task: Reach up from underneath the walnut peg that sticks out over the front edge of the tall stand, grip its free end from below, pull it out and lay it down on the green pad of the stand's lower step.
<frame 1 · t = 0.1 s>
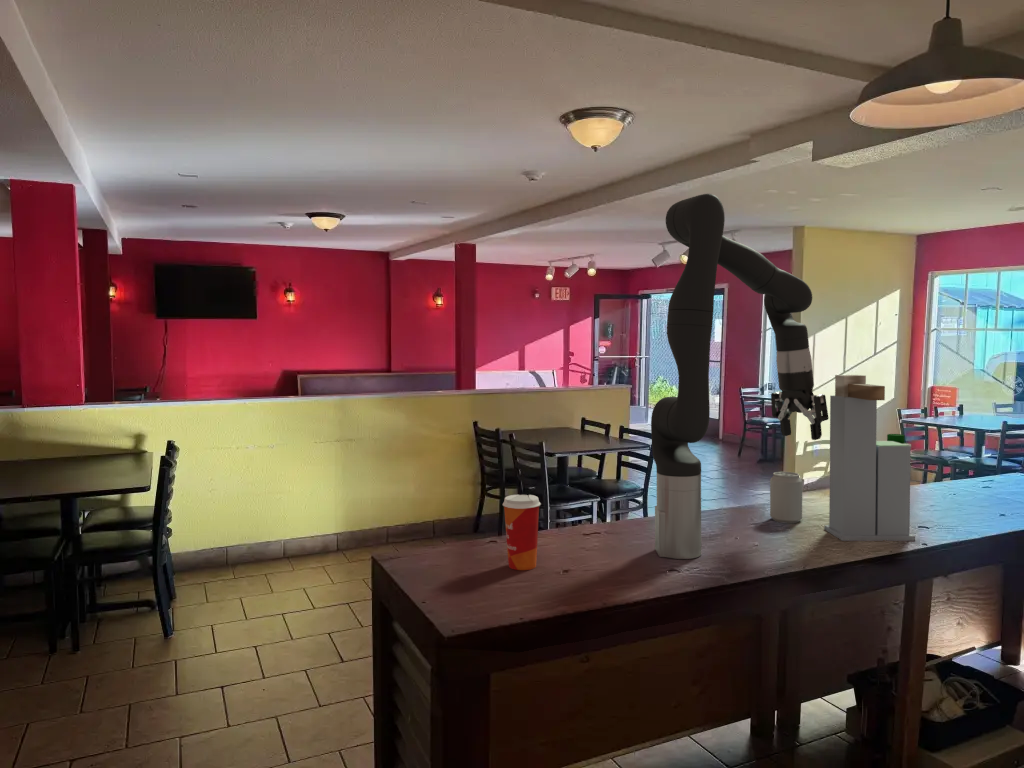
hand: (801, 437, 165), 22 cm above the table, tool pointing down, fingers open, 8 cm apart
stand: (868, 534, 163), on the table
peg: (852, 396, 162), point 32 cm above the table, touching stand
milk carton: (887, 510, 187), on the table
can: (785, 521, 178), on the table
paper cup: (522, 567, 143), on the table
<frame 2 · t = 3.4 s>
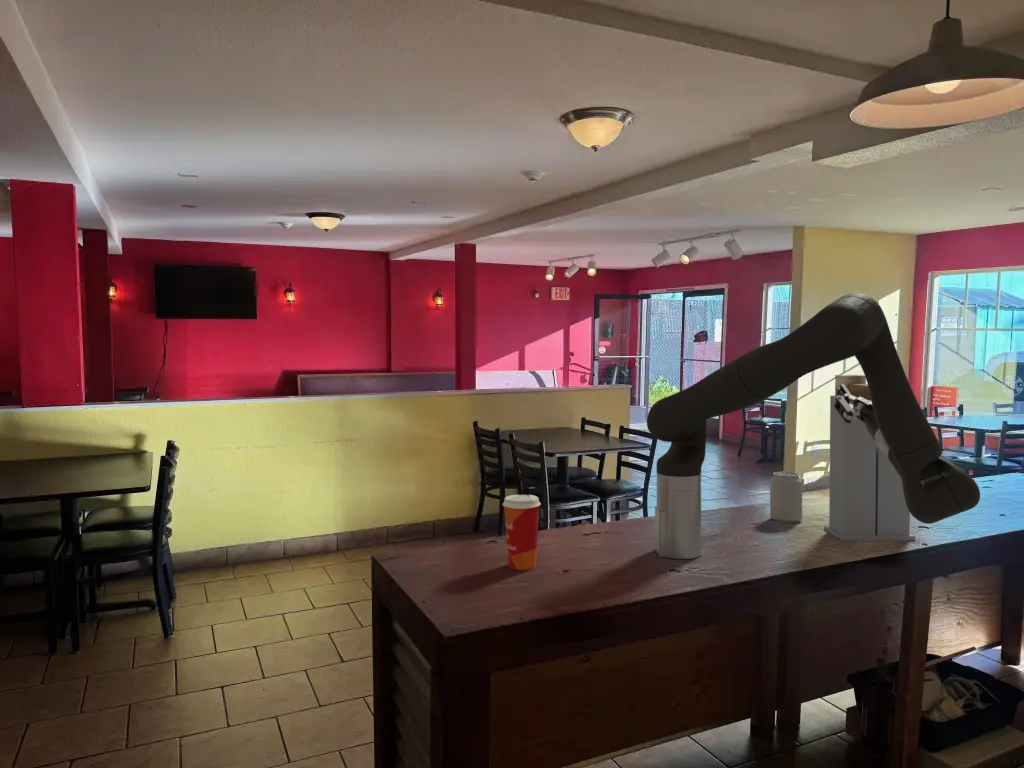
hand: (862, 387, 143), 35 cm above the table, tool pointing upward, fingers open, 8 cm apart
nothing on the table moved.
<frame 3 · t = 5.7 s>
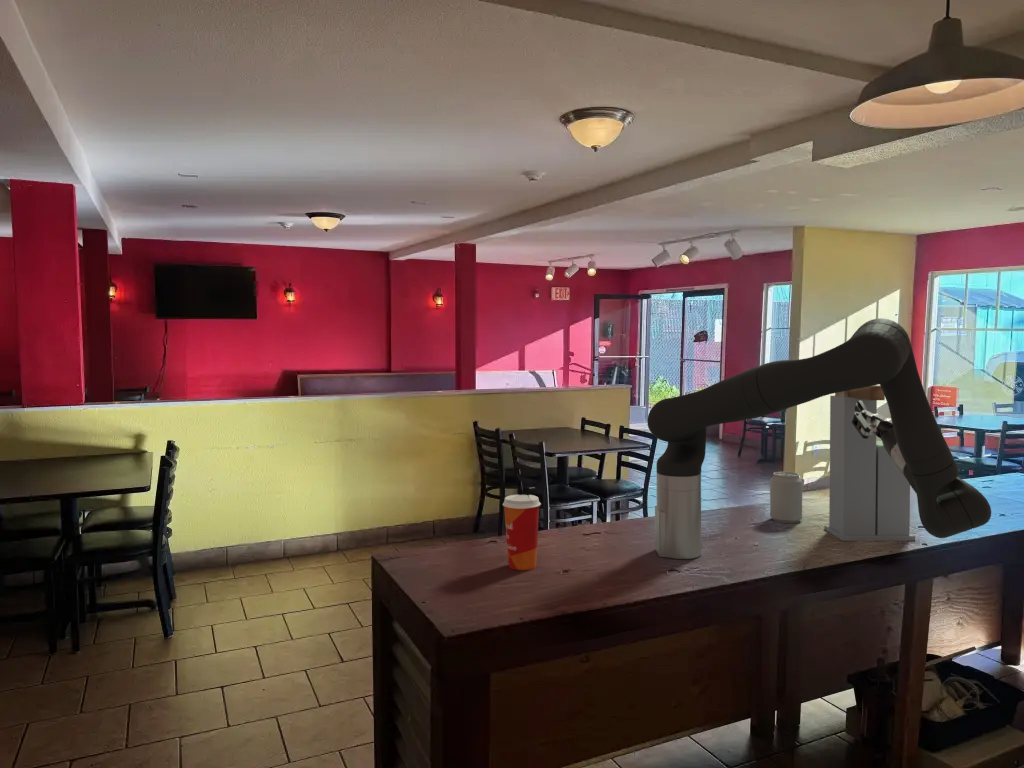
hand: (879, 404, 149), 31 cm above the table, tool pointing upward, fingers open, 8 cm apart
nothing on the table moved.
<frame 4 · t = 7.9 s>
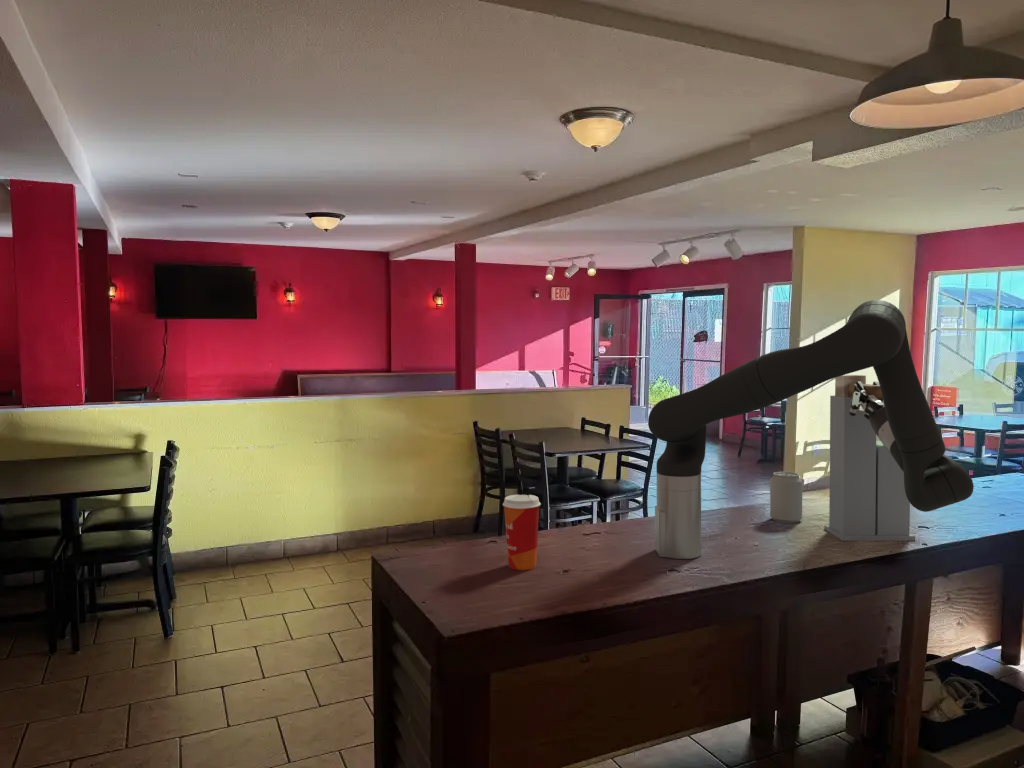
hand: (865, 385, 155), 35 cm above the table, tool pointing upward, fingers closed on peg, 3 cm apart
peg: (852, 396, 162), point 32 cm above the table, touching gripper, stand
everything else where it was.
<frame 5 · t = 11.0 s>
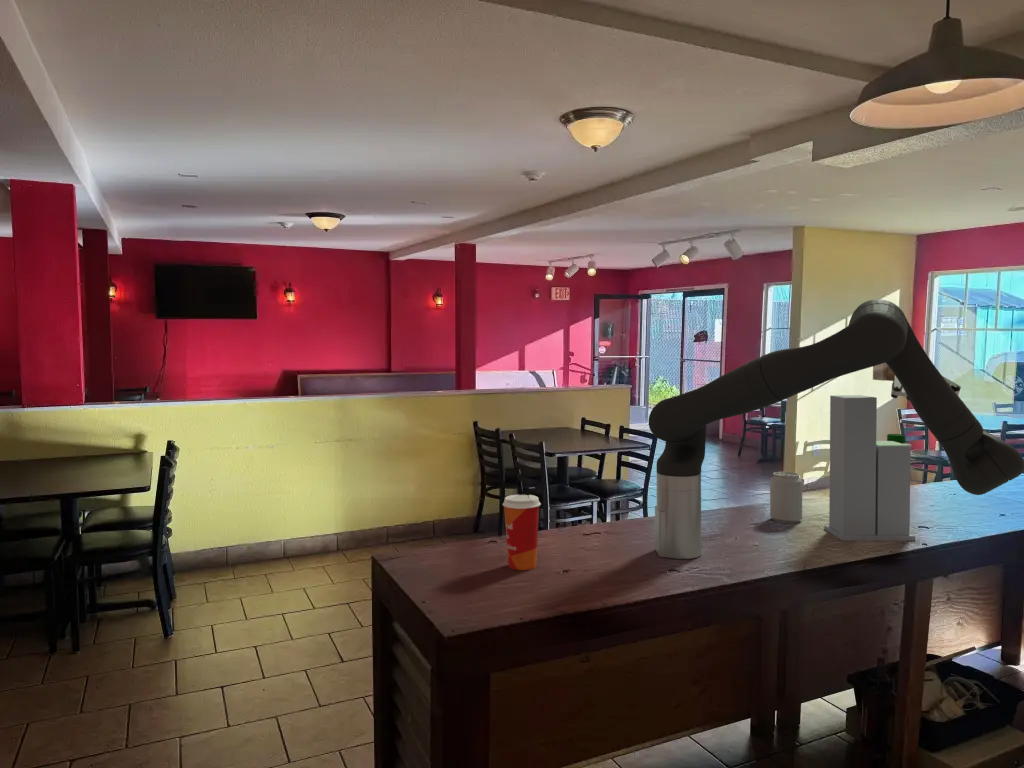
hand: (906, 367, 153), 39 cm above the table, tool pointing upward, fingers closed on peg, 3 cm apart
peg: (891, 380, 159), point 36 cm above the table, touching gripper
everything else where it was.
when the fingers open (25 cm above the table, at t = 14.2 s): peg drops 1 cm, resting on stand.
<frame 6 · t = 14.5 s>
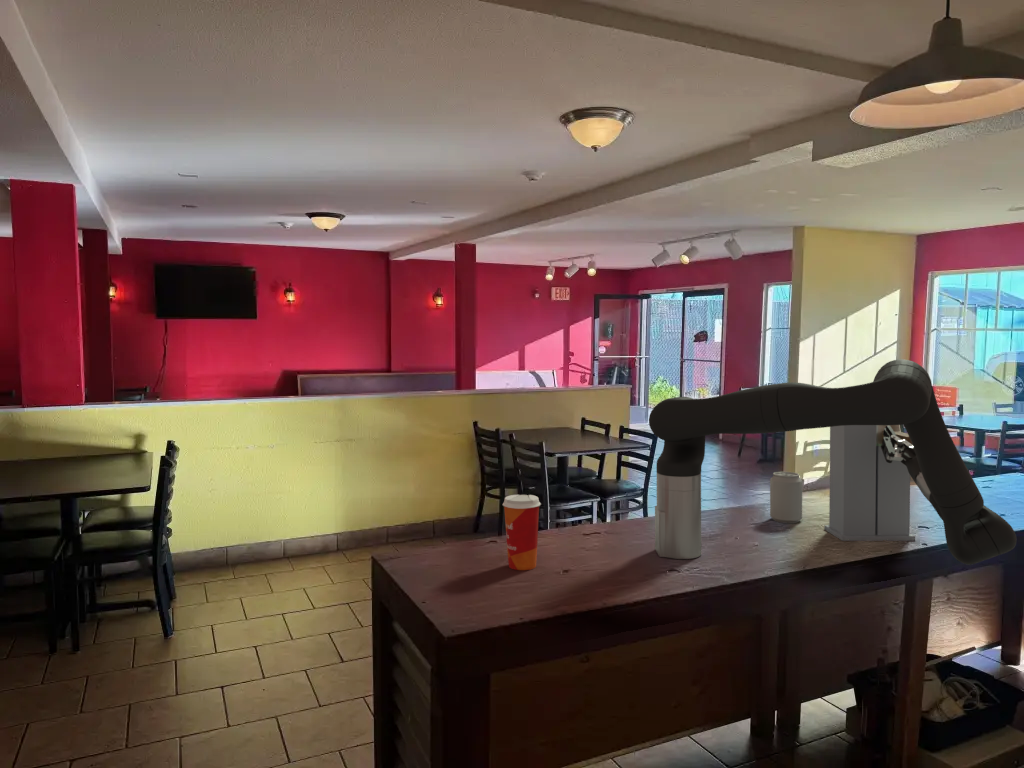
hand: (901, 428, 155), 25 cm above the table, tool pointing upward, fingers open, 5 cm apart
peg: (886, 443, 162), point 21 cm above the table, touching stand
everything else where it was.
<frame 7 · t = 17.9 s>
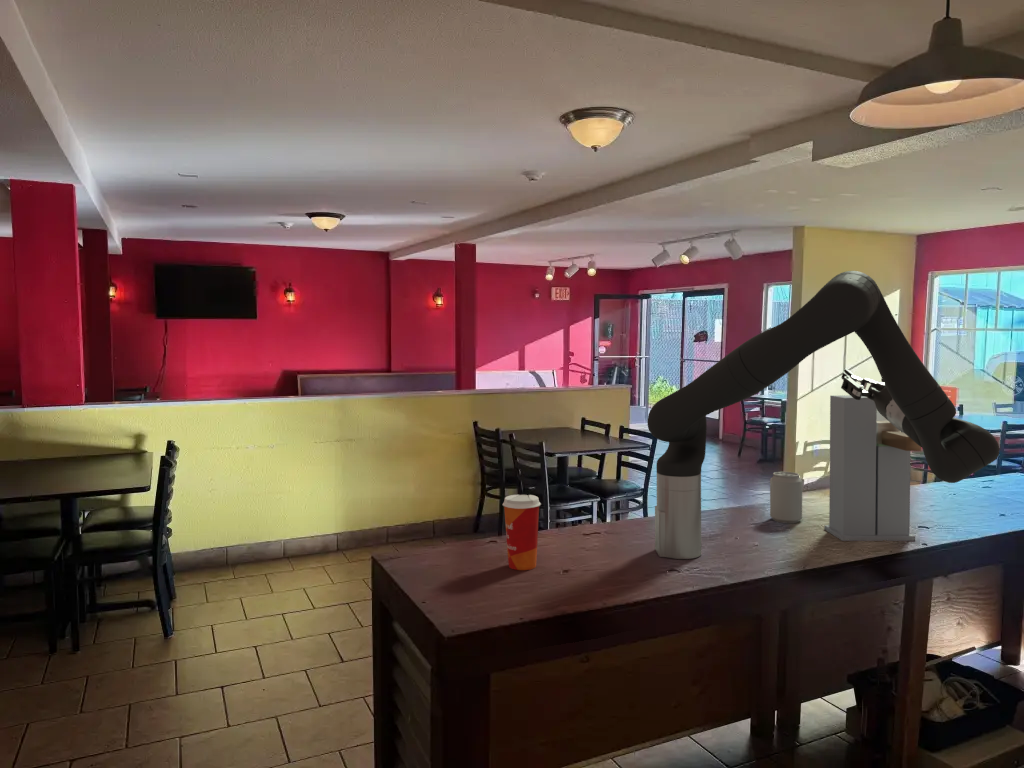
hand: (864, 374, 148), 37 cm above the table, tool pointing upward, fingers open, 8 cm apart
nothing on the table moved.
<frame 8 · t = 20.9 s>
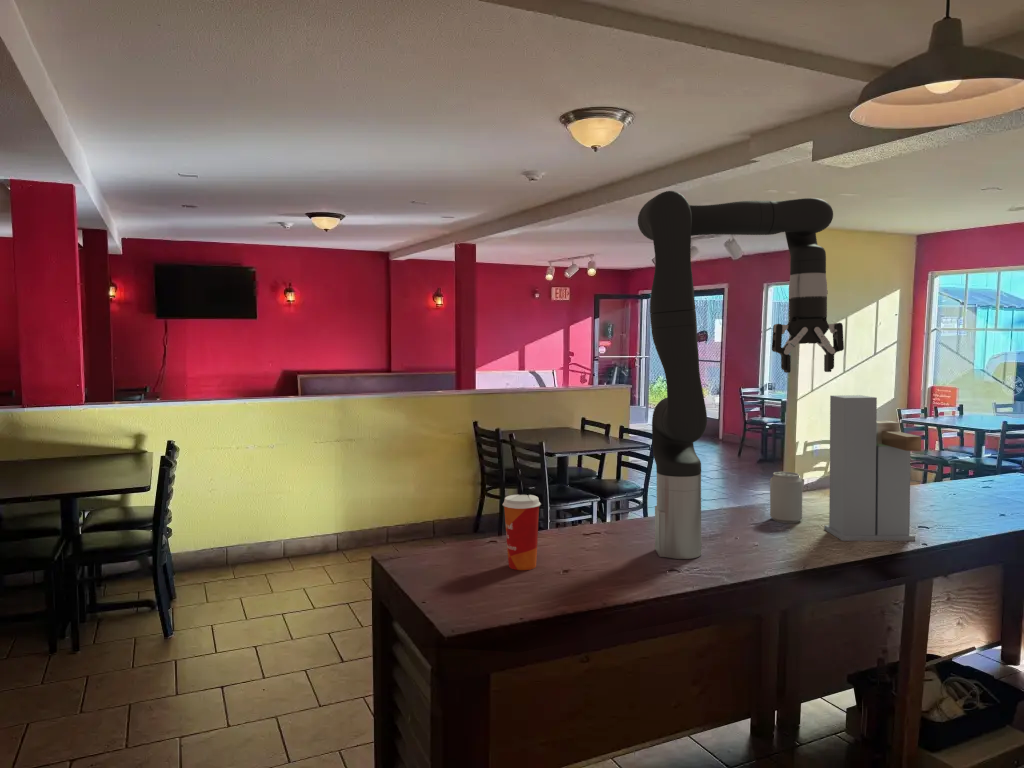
hand: (807, 372, 151), 38 cm above the table, tool pointing down, fingers open, 8 cm apart
nothing on the table moved.
at the end: peg inside the target area (0.6 cm from its centre), point 21.2 cm above the table; the gripper is holding nothing; peg touching stand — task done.
